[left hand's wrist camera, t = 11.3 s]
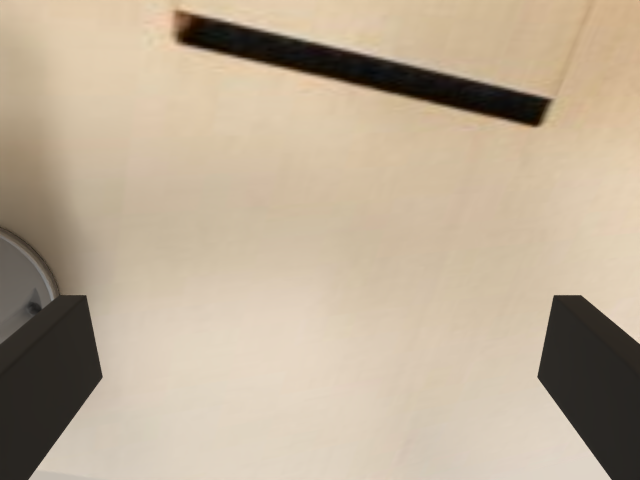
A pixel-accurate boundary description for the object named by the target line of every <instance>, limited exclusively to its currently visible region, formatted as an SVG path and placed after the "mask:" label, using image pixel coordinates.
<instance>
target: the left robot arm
mask: <svg viewBox="0 0 640 480" xmlns="http://www.w3.org/2000/svg"><path fill="white" fill-rule="evenodd" d="M101 379H102V372H101V367H100V362H99V357H98V352H97V347H96V342H95V337H94V332H93V327H92V322H91V317H90V312H89V307H88V302H87V297H86V295H59V291H58V287H57V284H56V282H55V279H54V277H53V275H52V273H51V271H50V270H49V268H48V266H47V265H46V263H45V262H44V261H43V260H42V258H41V257H40V256H39V255H38V254H37V253H36V252H35V251H34V250H33V249H32V248H31V247H30V246H29V245H28V244H27V243H25V242H24V241H23V240H21V239H20V238H18V237H17V236H15V235H14V234H12V233H10V232H9V231H7V230H5V229H2V228H0V480H28V479H29V478H30V477H31V475H32V474H33V472H34V471H35V470H36V468H37V467H38V466H39V464H40V463H41V461H42V460H43V459H44V457H45V456H46V455H47V453H48V452H49V450H50V449H51V448H52V446H53V445H54V444H55V442H56V441H57V439H58V438H59V437H60V435H61V434H62V433H63V431H64V430H65V428H66V427H67V426H68V424H69V423H70V422H71V420H72V419H73V417H74V416H75V415H76V413H77V412H78V411H79V409H80V408H81V406H82V405H83V404H84V402H85V401H86V399H87V398H88V397H89V395H90V394H91V393H92V391H93V390H94V388H95V387H96V386H97V384H98V383H99V382H100V380H101ZM538 379H539V380H540V382H541V383H542V384H543V386H544V387H545V388H546V390H547V391H548V393H549V394H550V395H551V397H552V398H553V399H554V401H555V402H556V404H557V405H558V406H559V408H560V409H561V411H562V412H563V413H564V415H565V416H566V417H567V419H568V420H569V422H570V423H571V424H572V426H573V427H574V428H575V430H576V431H577V433H578V434H579V435H580V437H581V438H582V439H583V441H584V442H585V444H586V445H587V446H588V448H589V449H590V450H591V452H592V453H593V455H594V456H595V457H596V459H597V460H598V461H599V463H600V464H601V466H602V467H603V468H604V470H605V471H606V473H607V474H608V475H609V477H610V478H611V479H612V480H640V344H639V343H638V342H636V341H635V340H634V339H633V338H632V337H630V336H629V335H628V334H627V333H626V332H624V331H623V330H622V329H621V328H620V327H618V326H617V325H616V324H615V323H614V322H612V321H611V320H610V319H609V318H608V317H606V316H605V315H604V314H603V313H602V312H600V311H599V310H598V309H597V308H596V307H594V306H593V305H592V304H591V303H590V302H588V301H587V300H586V299H585V298H584V297H582V296H581V295H554V297H553V302H552V307H551V312H550V317H549V322H548V327H547V332H546V337H545V342H544V347H543V352H542V357H541V362H540V367H539V372H538Z"/></svg>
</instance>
